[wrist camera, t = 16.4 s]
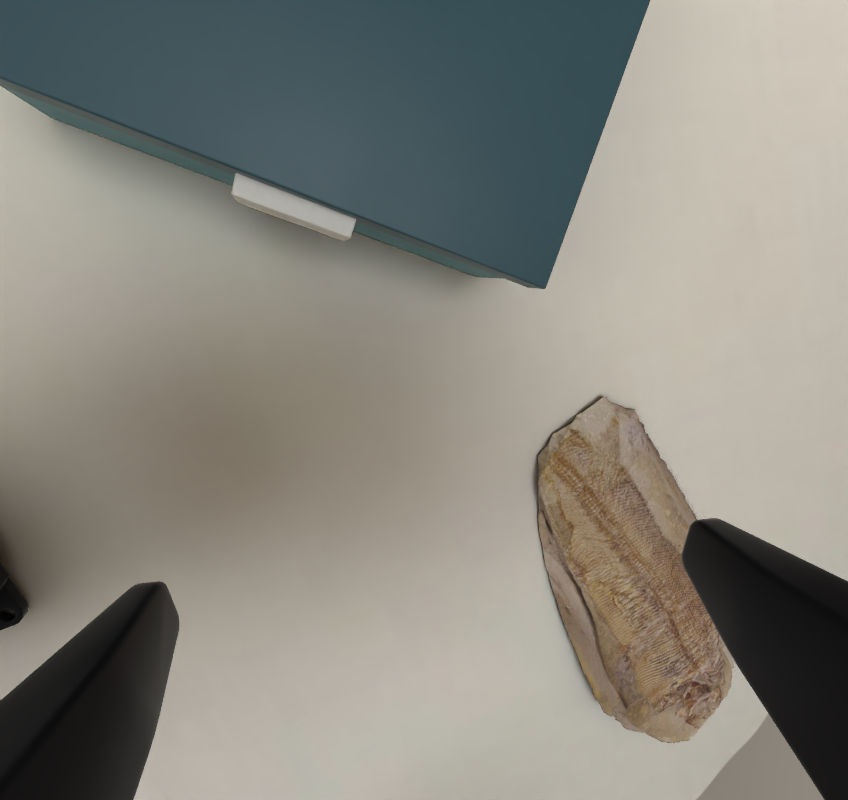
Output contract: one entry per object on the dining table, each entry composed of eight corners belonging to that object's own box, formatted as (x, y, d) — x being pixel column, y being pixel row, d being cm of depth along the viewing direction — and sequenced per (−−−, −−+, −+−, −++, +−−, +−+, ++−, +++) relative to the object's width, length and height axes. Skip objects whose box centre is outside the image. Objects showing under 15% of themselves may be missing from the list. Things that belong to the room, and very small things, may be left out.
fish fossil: (463, 500, 22) (474, 511, 21) (616, 371, 23) (633, 375, 22) (654, 756, 31) (668, 772, 30) (755, 653, 33) (771, 665, 32)
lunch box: (575, -1, 17) (690, -107, 12) (475, 296, 19) (539, 306, 14) (105, -318, 12) (-19, -723, 7) (36, 139, 14) (-96, 71, 9)
